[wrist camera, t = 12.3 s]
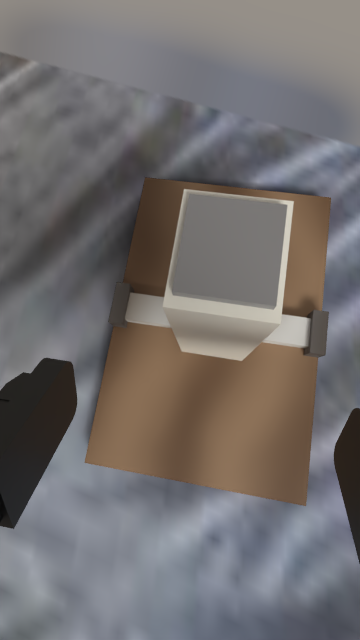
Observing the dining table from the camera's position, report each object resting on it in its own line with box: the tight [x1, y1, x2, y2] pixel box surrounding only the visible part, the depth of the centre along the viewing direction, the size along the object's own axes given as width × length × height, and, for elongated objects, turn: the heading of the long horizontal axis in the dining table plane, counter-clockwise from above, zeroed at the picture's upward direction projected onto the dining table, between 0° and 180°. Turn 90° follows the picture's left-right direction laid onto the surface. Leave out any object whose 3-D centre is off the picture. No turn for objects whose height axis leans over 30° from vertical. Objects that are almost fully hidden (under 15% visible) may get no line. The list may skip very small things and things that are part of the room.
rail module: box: [163, 189, 294, 361], centre depth 15 cm, size 4×4×10 cm
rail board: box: [85, 177, 331, 506], centre depth 20 cm, size 12×18×3 cm, turn 171°
